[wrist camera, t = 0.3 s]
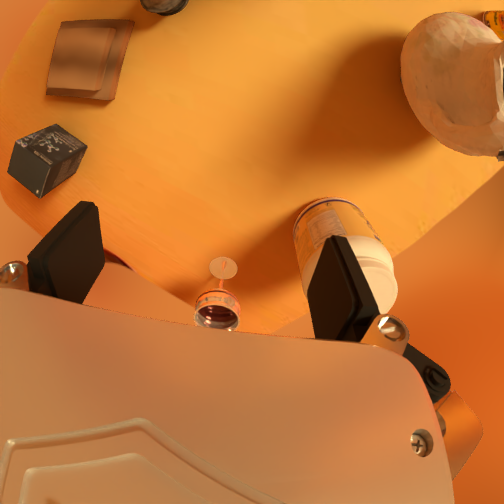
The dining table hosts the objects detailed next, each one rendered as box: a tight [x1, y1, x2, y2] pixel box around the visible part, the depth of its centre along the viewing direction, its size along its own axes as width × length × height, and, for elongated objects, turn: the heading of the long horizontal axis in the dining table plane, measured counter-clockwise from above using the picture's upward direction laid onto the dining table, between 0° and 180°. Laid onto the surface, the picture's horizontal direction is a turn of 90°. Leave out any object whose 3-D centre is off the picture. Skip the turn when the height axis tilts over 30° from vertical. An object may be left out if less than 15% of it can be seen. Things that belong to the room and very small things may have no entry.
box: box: [7, 124, 87, 199], centre depth 32 cm, size 8×6×11 cm
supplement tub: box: [293, 197, 398, 314], centre depth 38 cm, size 12×12×17 cm
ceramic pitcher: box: [400, 12, 504, 162], centre depth 20 cm, size 22×20×25 cm
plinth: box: [46, 19, 135, 100], centre depth 27 cm, size 12×12×4 cm
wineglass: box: [194, 257, 241, 331], centre depth 45 cm, size 7×7×12 cm
